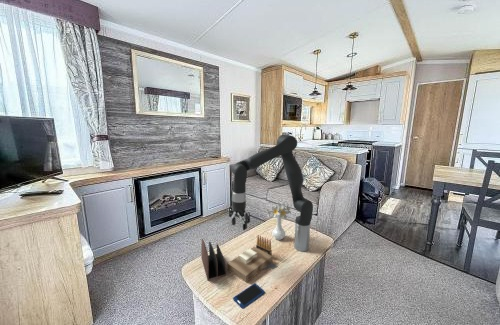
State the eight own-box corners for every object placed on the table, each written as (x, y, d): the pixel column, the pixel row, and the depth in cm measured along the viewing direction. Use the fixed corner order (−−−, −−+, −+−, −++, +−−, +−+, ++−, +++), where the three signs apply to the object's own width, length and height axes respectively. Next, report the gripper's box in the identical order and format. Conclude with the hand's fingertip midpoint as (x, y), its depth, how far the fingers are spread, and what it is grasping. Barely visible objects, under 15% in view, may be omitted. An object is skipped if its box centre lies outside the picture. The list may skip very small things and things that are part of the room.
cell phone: (232, 299, 92) (232, 297, 92) (255, 283, 101) (255, 282, 101) (242, 310, 87) (242, 308, 86) (265, 292, 96) (265, 291, 95)
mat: (271, 263, 117) (271, 262, 117) (284, 270, 111) (284, 270, 111) (247, 281, 103) (247, 281, 103) (260, 291, 97) (260, 291, 97)
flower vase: (262, 236, 147) (262, 203, 143) (284, 231, 154) (285, 199, 150) (271, 245, 135) (271, 209, 131) (294, 240, 142) (295, 205, 138)
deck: (254, 252, 127) (254, 246, 127) (272, 262, 118) (272, 256, 117) (227, 269, 112) (227, 263, 111) (245, 282, 102) (245, 275, 101)
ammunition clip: (255, 252, 127) (256, 234, 126) (257, 251, 129) (257, 233, 127) (270, 259, 121) (270, 240, 119) (271, 257, 122) (272, 239, 120)
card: (249, 252, 121) (249, 248, 120) (257, 256, 117) (257, 252, 116) (238, 259, 114) (238, 255, 114) (246, 264, 110) (246, 259, 110)
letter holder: (207, 281, 103) (206, 256, 101) (201, 258, 121) (200, 236, 119) (226, 276, 107) (226, 251, 105) (217, 254, 125) (217, 233, 123)
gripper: (253, 200, 111) (252, 228, 113) (234, 195, 120) (234, 221, 123) (243, 204, 105) (243, 233, 108) (225, 198, 114) (225, 225, 117)
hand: (239, 227), depth 115 cm, fingers open, 8 cm apart
